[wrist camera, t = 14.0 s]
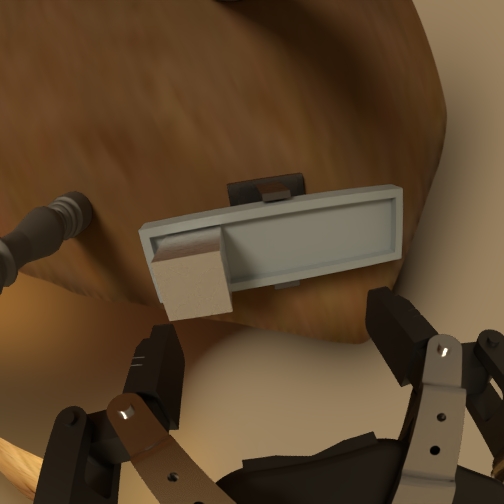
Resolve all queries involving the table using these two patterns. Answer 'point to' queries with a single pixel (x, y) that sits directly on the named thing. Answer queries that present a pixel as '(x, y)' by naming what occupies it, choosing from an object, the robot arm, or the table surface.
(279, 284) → the pivot stand
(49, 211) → the candle holder
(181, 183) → the table surface
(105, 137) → the table surface
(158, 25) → the table surface
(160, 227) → the beam
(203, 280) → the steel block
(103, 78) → the table surface
